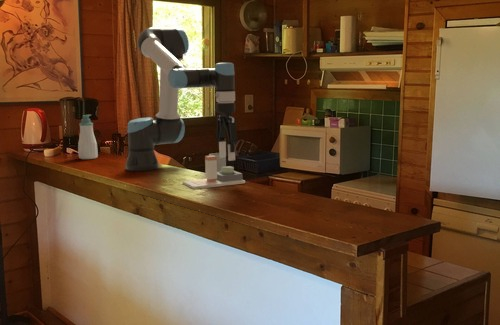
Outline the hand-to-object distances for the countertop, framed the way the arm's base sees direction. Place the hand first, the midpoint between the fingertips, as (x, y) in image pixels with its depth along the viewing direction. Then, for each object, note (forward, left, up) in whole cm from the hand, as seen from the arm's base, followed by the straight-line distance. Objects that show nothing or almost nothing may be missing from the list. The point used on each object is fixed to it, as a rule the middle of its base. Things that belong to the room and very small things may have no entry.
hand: (227, 158), depth 228 cm
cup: (-18, +2, -10) cm, 21 cm away
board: (+1, -7, -9) cm, 11 cm away
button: (0, 0, -7) cm, 7 cm away
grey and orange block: (+1, -8, -8) cm, 11 cm away
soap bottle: (-98, -38, -10) cm, 105 cm away
